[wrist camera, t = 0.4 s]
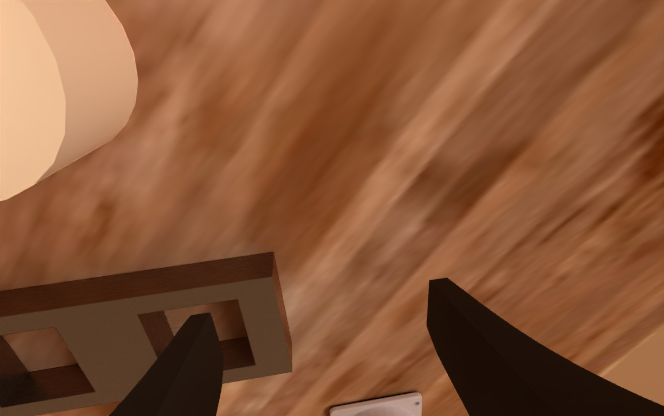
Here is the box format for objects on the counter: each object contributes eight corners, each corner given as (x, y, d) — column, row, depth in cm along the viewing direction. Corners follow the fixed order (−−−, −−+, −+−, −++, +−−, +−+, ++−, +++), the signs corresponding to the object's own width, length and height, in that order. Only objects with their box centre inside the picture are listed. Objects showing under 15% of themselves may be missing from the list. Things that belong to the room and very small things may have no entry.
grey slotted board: (273, 252, 21) (272, 276, 19) (291, 342, 25) (292, 371, 23) (-106, 306, 20) (-155, 340, 17) (-27, 394, 23) (-61, 431, 21)
